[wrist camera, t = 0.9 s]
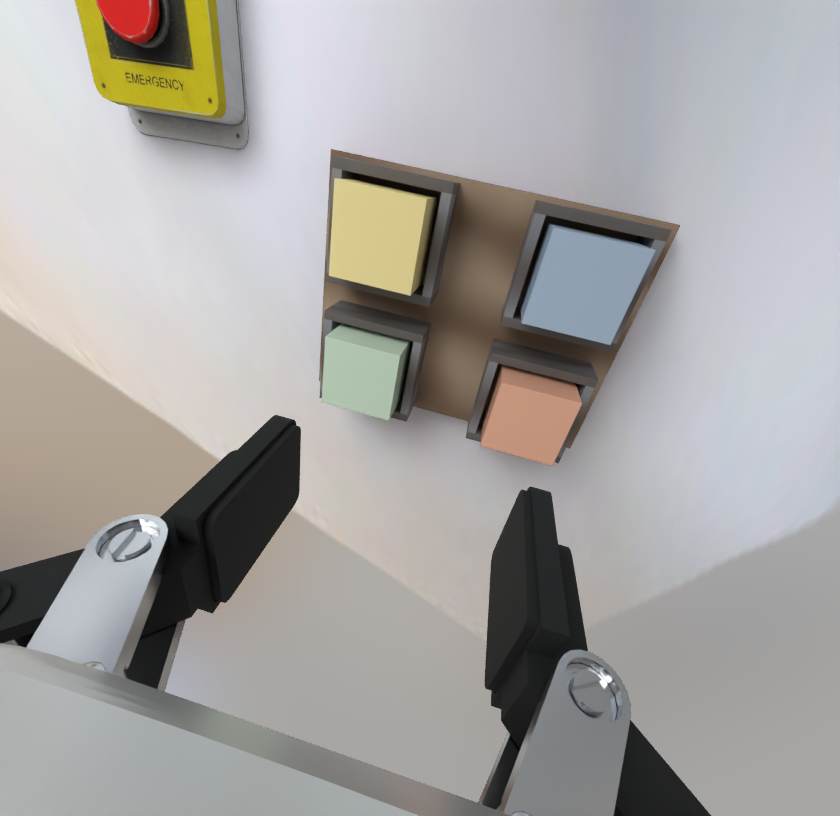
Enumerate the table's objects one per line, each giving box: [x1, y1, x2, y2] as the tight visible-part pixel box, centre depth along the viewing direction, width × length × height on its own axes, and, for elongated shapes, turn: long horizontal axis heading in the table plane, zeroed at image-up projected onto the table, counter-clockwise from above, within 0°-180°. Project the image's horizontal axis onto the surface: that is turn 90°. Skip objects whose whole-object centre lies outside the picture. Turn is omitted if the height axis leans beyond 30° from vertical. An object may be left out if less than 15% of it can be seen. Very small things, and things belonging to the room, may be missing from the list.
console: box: [319, 149, 680, 463], centre depth 28 cm, size 17×22×5 cm
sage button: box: [322, 323, 411, 421], centre depth 28 cm, size 5×5×3 cm
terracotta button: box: [480, 364, 582, 466], centre depth 27 cm, size 5×5×3 cm
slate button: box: [520, 223, 656, 345], centre depth 22 cm, size 5×5×3 cm
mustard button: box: [329, 178, 437, 296], centre depth 23 cm, size 5×5×3 cm
